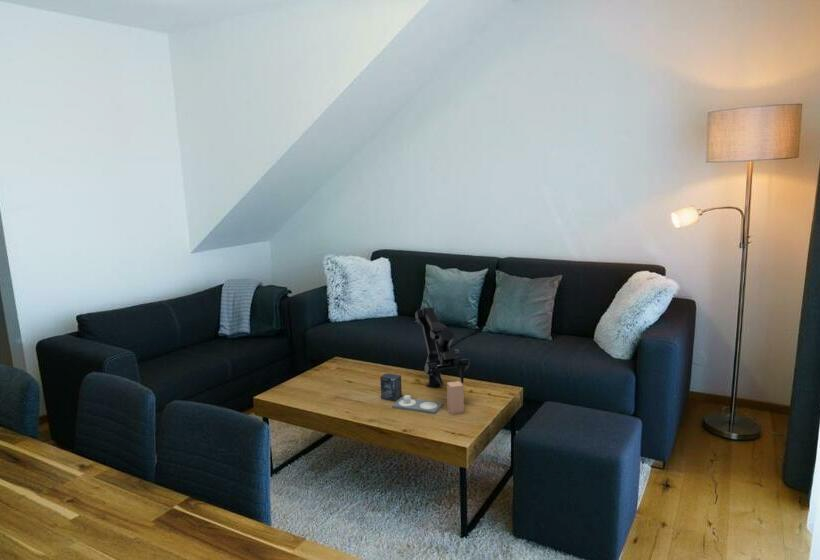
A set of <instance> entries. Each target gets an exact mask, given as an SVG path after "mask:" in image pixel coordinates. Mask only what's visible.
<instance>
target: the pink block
mask: <svg viewBox="0 0 820 560" xmlns="http://www.w3.org/2000/svg"><path fill="white" fill-rule="evenodd" d="M446 393H447V394H446V396H447V397H446V398H447V399H446V402H447V405H446V406H447V410H448V412H449V413H450V414H451V415H453V414H462V413H464V410H465V407H464V406H465V400H464V399H465V398H464V397H465V396H464V394H465V393H464V384H463V383H462V382H461V380H456V381H448V382H446Z"/></svg>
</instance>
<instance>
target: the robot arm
mask: <svg viewBox="0 0 820 560" xmlns="http://www.w3.org/2000/svg"><path fill="white" fill-rule="evenodd" d="M414 316H415V320H416V322H417V324H418V326H419V327H421V328H422V333H423V337H424V342H425V346H426V350H427V355H428V356H427V358H426V362H425V365H424V373H425V374H426V375H428V383H426V385H425V386H426V387H433V388H440V387H441V386H444V385H443V384H444V381H443V380H442V375H441V374H444V373H445V370H447V369H451V368H452V369H454V368H458V374H459V378H460V382H461V383H462V384H463V383H464V381H465V380H464V379H465V378H464V377H465V372H466V370H468V369H469V367H470V365H471V362H470V359H469V358H461V359H459V361H458V362H456V359H457V357H460V355H461V354H460V350H459V348H456V349H453V350H451V347H450V345H451V344H452V342H453V339H454V337H455V335H454V333H453V331H452V330H450V329H448V327H447V326H446V325H445V324H444V323H441V322H440V320H439V319H438V317H437V315H436V313H435V309H434V307H432V306H428V307H423V308H422V309H418V310H416V311H415V314H414Z"/></svg>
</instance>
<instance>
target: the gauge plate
mask: <svg viewBox="0 0 820 560" xmlns="http://www.w3.org/2000/svg"><path fill="white" fill-rule="evenodd" d="M411 397H412V396H411V395H410V394H405V395H403V396H402V397H401V398H400V399H398V400H397V401H395V402H394V403H393V404H392V405H391V407H392V409H399V410H405V411H406V410H407V411H412V412H419V413H427V414H433V415H436V414H437V413H438V412H439V410H441V408H442V407H443V406H444V402H442V401H441V402H440V401H434V400H427V399H420V398H419V399H417V398H411Z"/></svg>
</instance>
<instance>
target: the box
mask: <svg viewBox="0 0 820 560" xmlns="http://www.w3.org/2000/svg"><path fill="white" fill-rule="evenodd" d="M379 379H380V398H381V399H384V400H388V401H389V400H390V401H393V402H397V401H398V400H399V399H400V398H401V397H403V396H402V393H403V392H402V375H399V374H394V373H388V372H386V373H384V374H382V375H381V376H380V378H379Z"/></svg>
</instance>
